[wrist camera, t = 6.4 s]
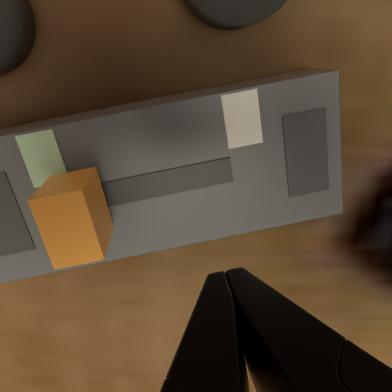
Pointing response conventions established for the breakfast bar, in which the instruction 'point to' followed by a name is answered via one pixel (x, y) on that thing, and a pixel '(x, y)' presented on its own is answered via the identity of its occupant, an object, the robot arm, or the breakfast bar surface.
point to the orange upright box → (73, 218)
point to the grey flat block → (182, 166)
